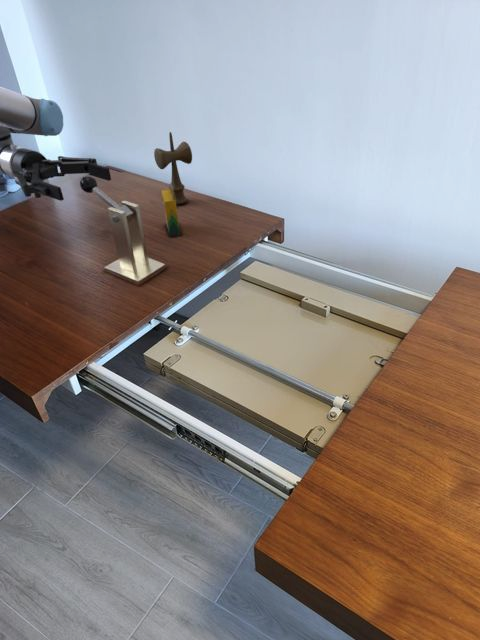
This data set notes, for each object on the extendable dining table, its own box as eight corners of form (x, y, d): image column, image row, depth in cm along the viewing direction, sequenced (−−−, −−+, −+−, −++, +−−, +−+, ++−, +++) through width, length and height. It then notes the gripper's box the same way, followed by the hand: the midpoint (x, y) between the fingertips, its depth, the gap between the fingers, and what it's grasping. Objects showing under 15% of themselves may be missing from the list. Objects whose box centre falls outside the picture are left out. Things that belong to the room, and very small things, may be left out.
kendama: (197, 201, 142) (191, 131, 128) (169, 210, 137) (159, 137, 124) (187, 195, 145) (180, 126, 132) (159, 203, 141) (149, 132, 128)
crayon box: (166, 224, 130) (160, 183, 122) (176, 223, 131) (171, 182, 123) (169, 237, 125) (163, 194, 117) (180, 235, 125) (175, 193, 118)
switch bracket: (105, 271, 111) (89, 207, 101) (132, 255, 117) (120, 193, 107) (139, 285, 107) (126, 220, 97) (166, 268, 113) (156, 205, 102)
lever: (75, 188, 105) (76, 175, 102) (88, 183, 107) (89, 170, 104) (122, 227, 103) (124, 215, 100) (134, 221, 105) (136, 209, 102)
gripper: (-30, 164, 103) (32, 185, 94) (63, 135, 119) (123, 151, 110) (-17, 197, 108) (43, 220, 99) (71, 165, 124) (129, 182, 115)
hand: (85, 184), depth 105 cm, fingers open, 13 cm apart
